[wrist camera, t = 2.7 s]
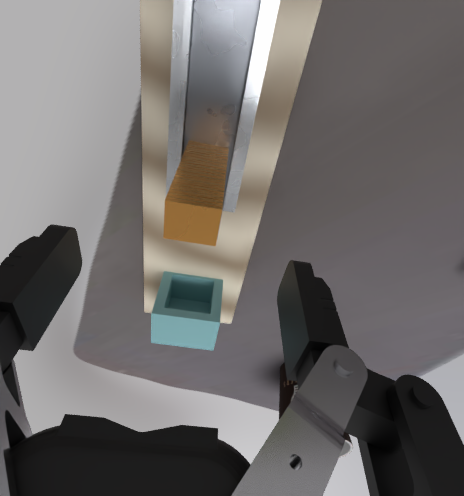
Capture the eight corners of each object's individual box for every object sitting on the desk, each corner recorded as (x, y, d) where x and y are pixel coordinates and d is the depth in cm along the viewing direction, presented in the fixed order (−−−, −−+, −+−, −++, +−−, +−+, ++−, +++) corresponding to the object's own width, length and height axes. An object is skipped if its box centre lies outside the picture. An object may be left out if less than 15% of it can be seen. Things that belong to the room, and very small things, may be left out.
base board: (144, -247, 13) (135, -266, 12) (368, -182, 14) (377, -195, 13) (147, 304, 35) (144, 312, 34) (231, 315, 36) (230, 323, 35)
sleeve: (199, -165, 13) (182, -226, 10) (300, -137, 14) (319, -187, 10) (177, 170, 23) (165, 201, 20) (236, 181, 24) (234, 212, 20)
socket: (164, 271, 30) (151, 313, 26) (223, 279, 31) (220, 322, 26) (162, 300, 33) (151, 342, 29) (217, 307, 33) (213, 350, 29)
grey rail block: (212, -132, 13) (167, -323, 5) (278, -115, 13) (325, -273, 6) (183, 211, 24) (155, 307, 17) (219, 217, 25) (208, 314, 17)
